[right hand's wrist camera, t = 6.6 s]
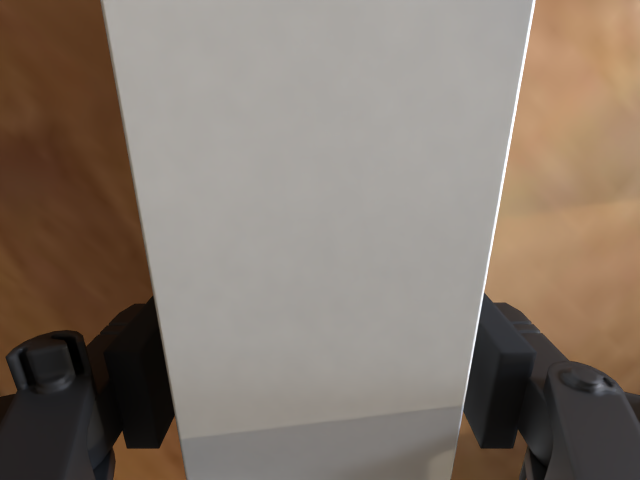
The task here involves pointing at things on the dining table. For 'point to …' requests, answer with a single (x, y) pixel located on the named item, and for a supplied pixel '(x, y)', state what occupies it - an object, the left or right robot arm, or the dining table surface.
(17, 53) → the dining table surface
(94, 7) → the dining table surface
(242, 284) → the beam
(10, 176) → the dining table surface
